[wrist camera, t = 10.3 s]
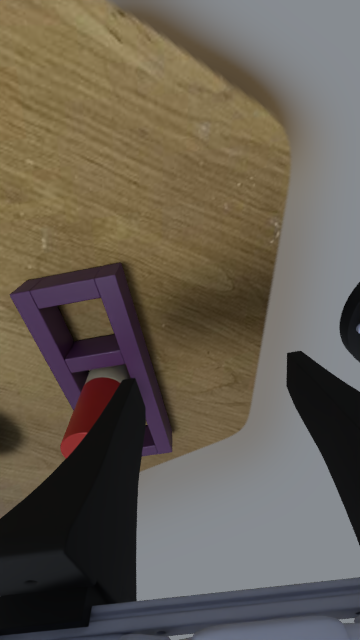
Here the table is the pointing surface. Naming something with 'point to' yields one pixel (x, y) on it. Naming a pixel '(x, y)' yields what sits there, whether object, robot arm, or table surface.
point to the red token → (87, 411)
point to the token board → (94, 340)
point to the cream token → (110, 373)
